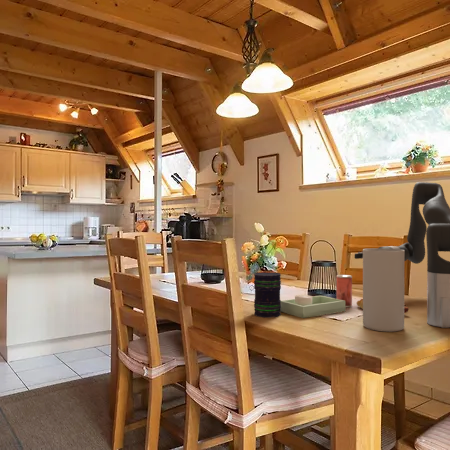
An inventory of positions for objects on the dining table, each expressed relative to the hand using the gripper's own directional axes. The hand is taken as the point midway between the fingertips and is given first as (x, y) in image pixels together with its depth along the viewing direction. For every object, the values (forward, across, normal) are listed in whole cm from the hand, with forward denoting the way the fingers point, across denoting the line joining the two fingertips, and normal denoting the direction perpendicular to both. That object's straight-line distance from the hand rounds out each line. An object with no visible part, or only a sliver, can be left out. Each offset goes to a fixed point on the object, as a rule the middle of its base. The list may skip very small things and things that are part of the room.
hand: (363, 257), depth 179 cm
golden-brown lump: (+8, +15, +19) cm, 26 cm away
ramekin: (+34, +2, +17) cm, 38 cm away
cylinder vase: (+27, +32, +19) cm, 46 cm away
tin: (+11, 0, +19) cm, 22 cm away
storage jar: (+47, -3, +19) cm, 51 cm away
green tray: (+30, +2, +19) cm, 35 cm away
